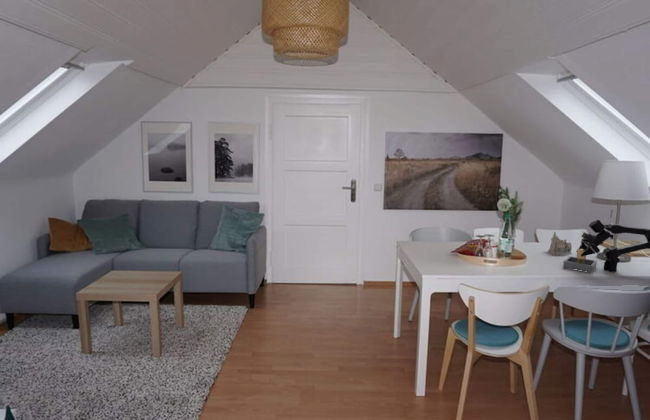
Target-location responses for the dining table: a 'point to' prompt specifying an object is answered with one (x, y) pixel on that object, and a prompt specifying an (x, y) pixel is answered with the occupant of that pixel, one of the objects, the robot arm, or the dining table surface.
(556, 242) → the ceramic cottage
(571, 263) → the charcoal bin
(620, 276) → the dining table surface
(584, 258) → the brass canister
